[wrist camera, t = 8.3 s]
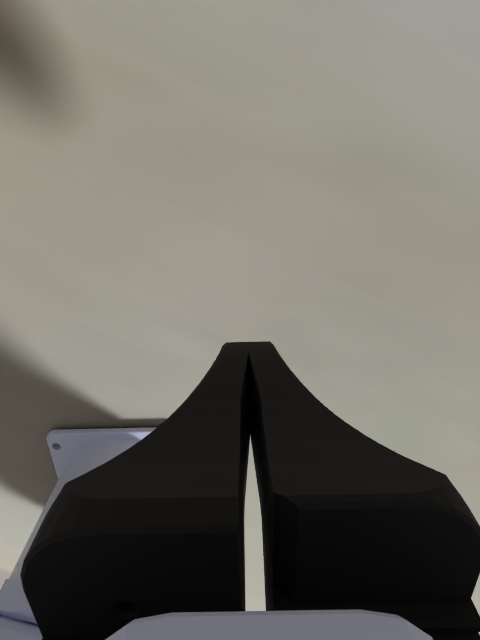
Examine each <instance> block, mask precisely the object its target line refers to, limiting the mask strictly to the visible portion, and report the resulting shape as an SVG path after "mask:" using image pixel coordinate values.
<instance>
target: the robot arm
mask: <svg viewBox="0 0 480 640" xmlns="http://www.w3.org/2000/svg"><path fill="white" fill-rule="evenodd" d="M250 435H251V442H252V449H253V456H254V463H255V470H256V477H257V484H258V491H259V498H260V506H261V516H262V534H263V555H264V576H265V598H266V611H245V553H244V506H245V492H246V479H247V467H248V455H249V442H250ZM46 440H47V443H48V447H49V450H50V454H51V457H52V460H53V464H54V467H55V471H56V474H57V477H58V481H57V483H56V485H55V487H54V489H53V491H52V493H51V495H50V497H49V499H48V501H47V503H46V505H45V507H44V509H43V511H42V513H41V515H40V517H39V519H38V521H37V523H36V525H35V527H34V529H33V531H32V533H31V535H30V537H29V539H28V541H27V543H26V545H25V547H24V550H23V552H22V554H21V556H20V558H19V560H18V562H17V564H16V566H15V568H14V570H13V572H12V574H11V576H10V578H9V579H6V580H5V582H4V584H3V586H2V588H1V590H0V640H480V635H479V633H478V632H480V616H479V614H478V612H477V610H476V608H475V606H474V604H473V602H472V600H471V596H472V594H473V591H474V588H475V585H476V582H477V579H478V577H479V574H480V526H479V524H478V522H477V521H476V519H475V517H474V516H473V514H472V512H471V510H470V509H469V507H468V506H467V504H466V503H465V501H464V500H463V498H462V497H461V495H460V494H459V492H458V491H457V490H456V488H455V487H454V486H453V485H452V483H451V482H450V480H449V479H448V477H447V476H446V475H445V474H443V473H440V472H438V471H436V470H433V469H431V468H429V467H427V466H424V465H422V464H420V463H417V462H415V461H413V460H411V459H408V458H406V457H404V456H402V455H400V454H398V453H396V452H394V451H392V450H390V449H388V448H387V447H385V446H383V445H381V444H379V443H377V442H376V441H374V440H372V439H371V438H369V437H367V436H365V435H364V434H362V433H361V432H359V431H358V430H356V429H355V428H353V427H352V426H350V425H349V424H347V423H346V422H344V421H343V420H342V419H340V418H339V417H338V416H336V415H335V414H334V413H333V412H331V411H330V410H329V409H328V408H327V407H325V406H324V405H323V404H322V403H321V402H320V401H319V400H318V399H317V398H315V396H314V395H313V394H312V393H311V392H310V391H309V390H308V389H307V388H306V387H305V386H304V385H303V384H302V383H301V382H300V381H299V379H298V378H297V377H296V376H295V375H294V373H293V372H292V371H291V370H290V369H289V367H288V366H287V365H286V363H285V362H284V360H283V359H282V358H281V356H280V355H279V353H278V352H277V350H276V348H275V347H274V345H273V344H272V343H271V342H230V343H225V344H224V345H223V346H222V348H221V351H220V353H219V355H218V356H217V358H216V360H215V361H214V363H213V365H212V366H211V368H210V369H209V371H208V372H207V374H206V375H205V377H204V378H203V379H202V381H201V382H200V383H199V385H198V386H197V387H196V388H195V390H194V391H193V392H192V393H191V394H190V396H189V397H188V398H187V399H186V400H185V401H184V403H183V404H182V405H181V406H180V407H179V408H178V409H177V410H176V411H175V412H174V413H173V414H172V415H171V416H170V417H169V418H168V419H167V420H165V421H164V422H163V423H162V424H161V425H160V426H158V427H155V428H108V429H62V430H51V431H50V432H49V434H48V435H47V437H46ZM55 443H57V444H59V445H57V444H55Z"/></svg>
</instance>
